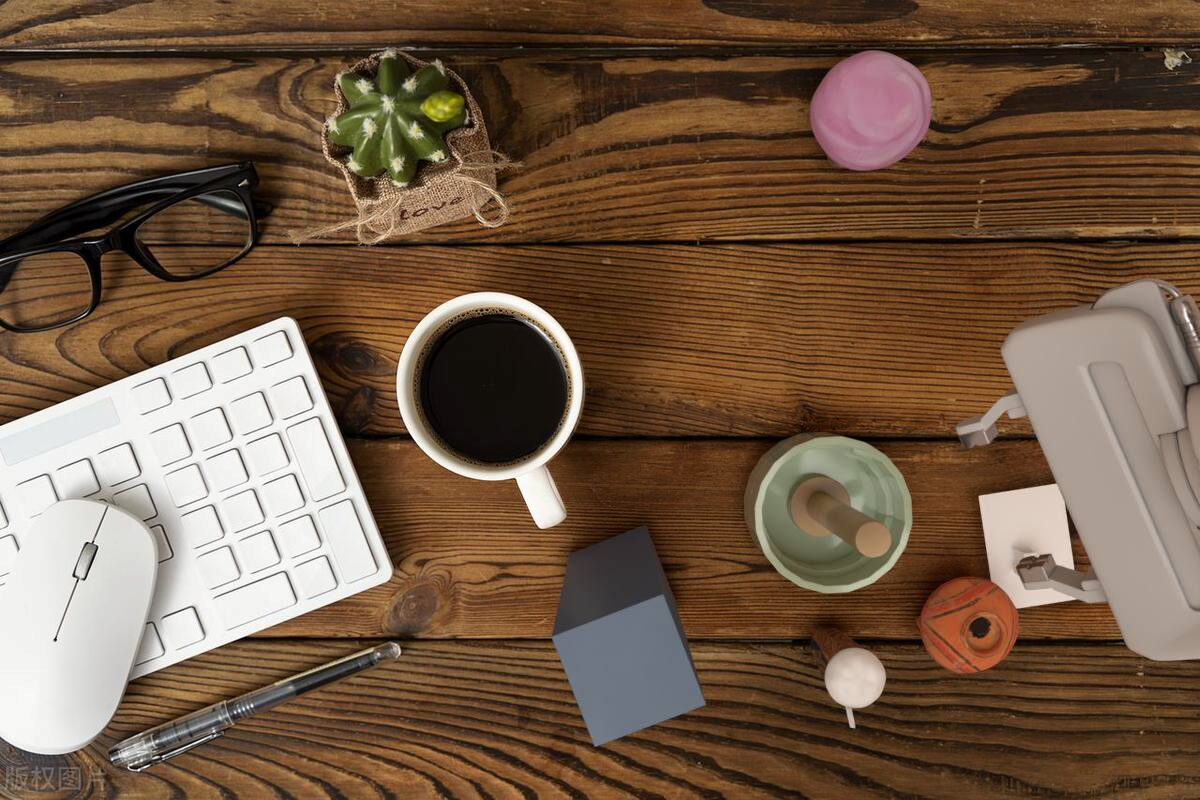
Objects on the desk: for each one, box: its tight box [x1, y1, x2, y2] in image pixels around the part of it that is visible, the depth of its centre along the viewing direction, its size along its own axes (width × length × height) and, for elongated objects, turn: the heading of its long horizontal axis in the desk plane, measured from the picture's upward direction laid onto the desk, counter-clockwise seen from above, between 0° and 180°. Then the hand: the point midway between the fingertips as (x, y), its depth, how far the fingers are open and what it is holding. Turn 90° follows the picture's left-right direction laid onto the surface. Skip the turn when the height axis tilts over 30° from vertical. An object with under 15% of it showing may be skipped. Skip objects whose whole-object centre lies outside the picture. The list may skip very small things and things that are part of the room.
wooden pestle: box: [787, 475, 892, 557], centre depth 64 cm, size 5×5×16 cm
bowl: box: [743, 431, 913, 594], centre depth 69 cm, size 12×12×6 cm
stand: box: [551, 524, 707, 748], centre depth 61 cm, size 7×7×23 cm
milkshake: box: [808, 625, 887, 729], centre depth 68 cm, size 5×5×10 cm
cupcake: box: [809, 49, 932, 172], centre depth 67 cm, size 9×9×10 cm
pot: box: [915, 576, 1020, 675], centre depth 70 cm, size 8×8×7 cm
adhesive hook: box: [1012, 547, 1040, 576], centre depth 71 cm, size 3×3×3 cm
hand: (992, 504), depth 53 cm, fingers open, 8 cm apart
